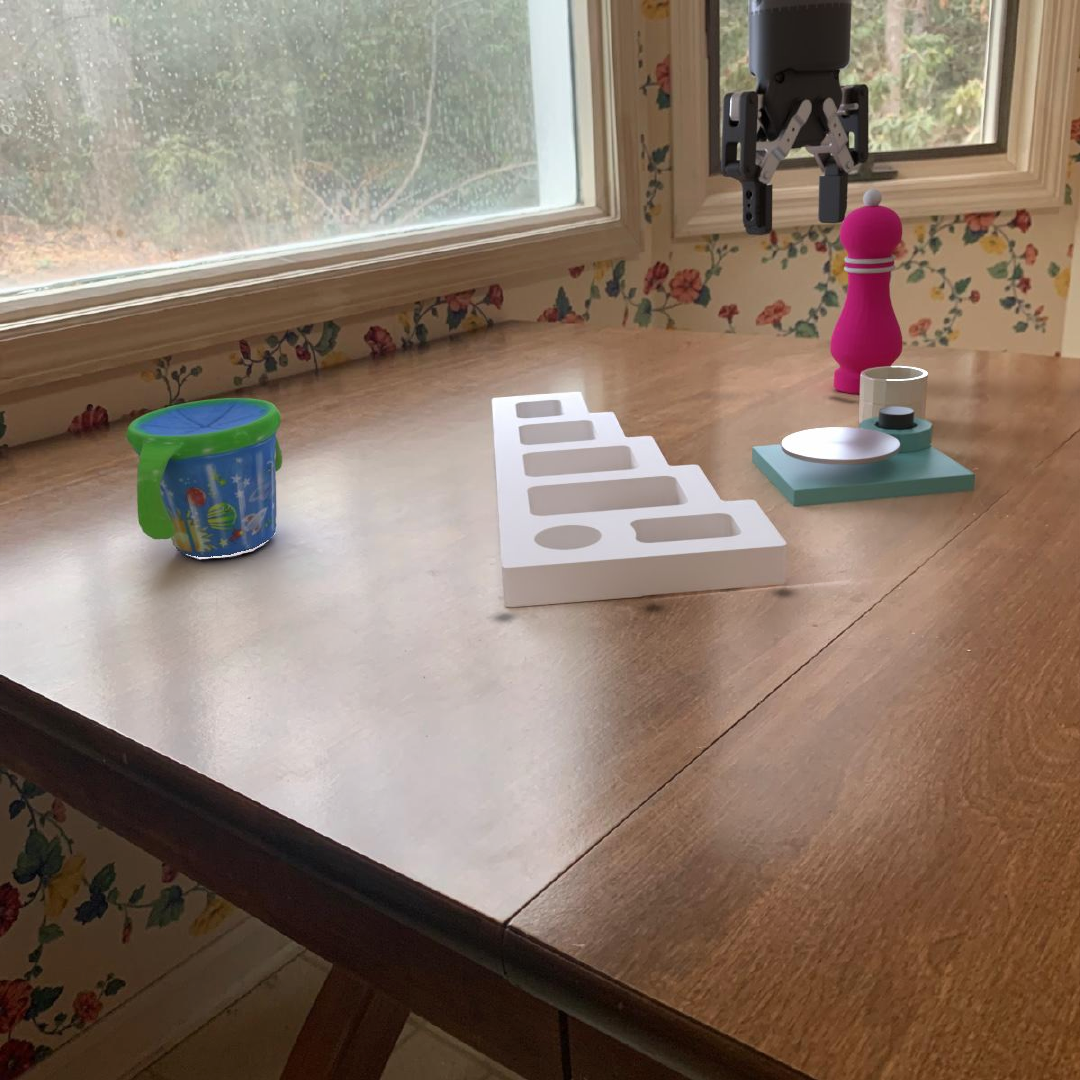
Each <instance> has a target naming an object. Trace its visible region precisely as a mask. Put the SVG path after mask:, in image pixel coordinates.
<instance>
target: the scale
mask: <svg viewBox="0 0 1080 1080" xmlns="http://www.w3.org/2000/svg"><path fill="white" fill-rule="evenodd" d="M878 419H879V417H872V418H869V419H866V420H863V421H862V422H861V423H860V422H859V425H858V428H861V429H869V430H874V431H879V432H883V433H886V434H889V435H891V436H893V437H895V438H896V439H898V440H899V442H900V450H899V452H898V453H897V454H896V455H894V456H892V457H890V458H888V459H885V460H881V461H876V462H871V463H863V464H849V465H836V464H821V463H813V462H808V461H803V460H799V459H796V458H793V457H791V456H789V455H787V454H785V453H784V452H783V451H782V448H781V443H779V444H767V445H756V446H752V447H751V462H752V463H753V464H754V465H755V467H757V469H758V470H759V471H760V472H761V473H762V474H763V475H764V476H765V477H766V478H767V479H768V480H769V481H770V483H771V484H772V485H773V486H774V487H775V488H776V490H778V491H779V492H780V493H781V495H783V496H784V498H785V499H786V500H787V501H788V502H789V503H790V504H791V505H792V506H793V507H795V508H796V507H806V506H815V505H827V504H828V505H829V504H837V503H839V504H840V503H851V502H859V501H860V502H861V501H872V500H883V499H894V498H895V499H896V498H904V497H915V496H917V497H918V496H927V495H939V494H949V493H959V492H971V491H974V490H975V479H976V474H975V473H974V472H973V471H971V470H969V469H968V468H966V467H965V466H964V465H962V464H961V463H959V462H958V461H956V460H954V459H952V458H951V457H949V456H948V455H946V454H945V453H944V452H942V451H940V450H939V449H937V448H936V447H935V446H933V445H931V444H932V442H933V429H934V425H933V423H932V422H931V421H929V420H927V419H926V418H925V419H921V418H916V417H914V426H913V428H912V429H907V430H887V429H882V428H878Z"/></svg>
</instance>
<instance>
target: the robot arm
mask: <svg viewBox="0 0 1080 1080" xmlns="http://www.w3.org/2000/svg"><path fill="white" fill-rule="evenodd" d="M852 2H853V0H748V72H749V73H750V76H753V77H756V87H755V90H748V91H747V90H746V91H735V92H727V93H725V94H724V96H723V98H722V99H723V101H722V130H721V152H720V155H721V156H720V157H721V158H720V173H721V174H722V177H725V178H732V179H734V180H737V181H738V182H739V184H740V185H741V187H742V188H741V189H742V190H741V191H742V223H743V227H744V229H745V232H746V234H747V235H750V236H751V235H754V236H764V235H769V234H771V232H772V231H773V184H771V183H770V182H771V180H772V178H773V177H774V175H775V172H776V170H777V168H778V166H779V164H780V162H781V161H782V160H784V159H785V158H787V157H788V155H789V153H790V152H791V150H796V149H801V148H805V150H806V152H807V153H809V154H811V155H813V157H814V159H815V161H816V163H817V165H818V167H819V169H820V171H821V172H822V174H823V175H818V204H817V205H818V207H817V208H818V210H817V213H818V214H817V219H818V221H819V222H820V223H821V224H839V223H843V221H844V219H845V218H846V212H847V209H848V191H849V190H848V189H849V188H848V187H849V186H848V185H849V174H850V173H851V172H852V171H853V169H854V167H856V166H857V165H859V164H865V163H867V161H868V159H869V109H870V108H869V106H870V105H869V103H870V102H869V96H870V95H869V87H868V85H867V84H866V83H861V84H860V83H859V84H857V83H855V84H854V83H853V84H846V85H841V83H840V73H841V71H842V70H845V69H846V68H847V67H849V65H850V63H851V62H850V61H851V35H852V8H853V7H852V4H853V3H852ZM850 133H853V145H854V146H853V147H850ZM738 145H739V147H740V148H739V149H740V150H739V159H738Z"/></svg>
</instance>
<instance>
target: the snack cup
mask: <svg viewBox="0 0 1080 1080" xmlns="http://www.w3.org/2000/svg"><path fill="white" fill-rule="evenodd" d="M281 419H282V417H281V411H280V410H279V409H278V408H277V406H276V405H275V404H273V403H272V402H270V401H267V400H263V399H259V398H258V399H257V398H249V397H225V398H213V399H204V400H197V401H190V402H185V403H178V404H173V405H170V406H167V407H162V408H159V409H156V410H153V411H150V412H148V413H146V414H142V415H141V416H139V417H137V418H136V419H134V420H133V421H132V422H130V424H129V425H128V427H127V428H126V432H125V433H126V439H127V441H128V442H129V444H130V446H131V447H132V449H133V450H134V452H135V453H136V454H137V455H138V465H137V471H136V472H137V474H136V478H137V479H136V480H137V482H136V494H137V495H136V496H137V498H136V503H137V519H138V524H139V526H140V527H141V530H142V532H143V533H144V534H145V535H146V536H147V537H149V538H151V539H153V540H169V539H171V541H172V545H173V547H174V548H175V547H176V548H175V550H176V549H177V550H178V551H177V550H176V551H177V552H179V551H181V552H182V553H184V554H188V555H191V556H196V557H197V556H198V557H211V556H212V557H213V556H222V555H231V554H234V553H237V552H241V551H246V550H249V549H253V548H255V547H257V546H259V545H260V544H262V543H264V542H266V541H267V540H269V539H270V540H271V539H272V538H273V537H274V536H275V535H274V533H275V532H277V478H276V477H277V472H278V471H279V470H280V469H281V468H282V465H283V452H282V450H281V446H280V444H279V440H278V437H277V432H278V431H279V428H280V426H281ZM273 535H274V536H273ZM271 537H272V538H271ZM181 552H180V553H181ZM182 553H181V554H182ZM184 554H183V555H184ZM239 556H241V555H239ZM239 556H235V557H234V558H237V557H239ZM230 558H231V559H232V558H233V557H229V558H228V559H230ZM224 559H225V558H223V559H222V560H224Z"/></svg>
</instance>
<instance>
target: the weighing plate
mask: <svg viewBox="0 0 1080 1080" xmlns="http://www.w3.org/2000/svg"><path fill="white" fill-rule="evenodd" d="M780 444H781V448H782V451H783V452H784V453H785V454H787V455H789V456H791V457H793V458H796V459H799V460H803V461H808V462H813V463H821V464H836V465H849V464H863V463H871V462H876V461H881V460H885V459H888V458H890V457H892V456H894V455H896V454H897V453H898V452H899V450H900V442H899V440H898V439H896V438H895V437H893V436H891V435H889V434H886V433H883V432H879V431H874V430H869V429H861V428H859V427H846V426H844V427H843V426H834V427H833V426H831V427H819V428H817V427H816V428H811V429H804V430H801V431H796V432H794V433H791V434H789V435H786V436H785V437H784V438H783V439H782V441H781V443H780Z"/></svg>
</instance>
